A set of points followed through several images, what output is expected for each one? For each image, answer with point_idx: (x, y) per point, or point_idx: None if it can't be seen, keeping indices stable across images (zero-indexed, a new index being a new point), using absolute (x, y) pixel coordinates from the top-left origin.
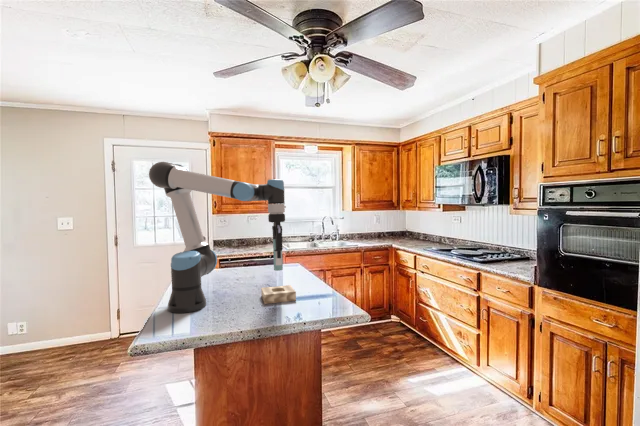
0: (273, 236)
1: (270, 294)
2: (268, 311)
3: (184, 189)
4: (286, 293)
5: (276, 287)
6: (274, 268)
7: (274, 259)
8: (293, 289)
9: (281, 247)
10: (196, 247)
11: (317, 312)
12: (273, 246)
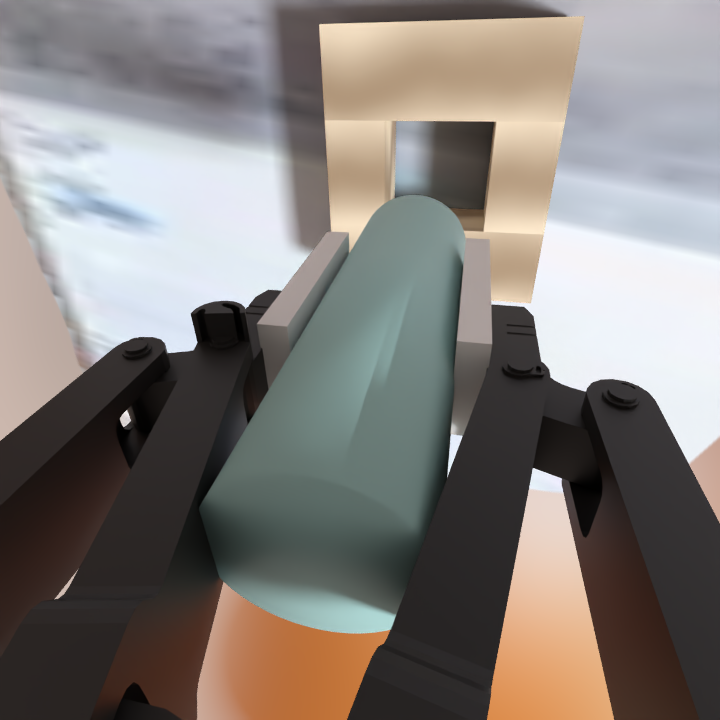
0: (663, 642)
1: (323, 86)
2: (182, 37)
3: None
4: (331, 221)
5: (514, 178)
6: (392, 205)
7: (364, 249)
8: None
9: (124, 432)
10: None
11: (147, 307)
12: (328, 353)
